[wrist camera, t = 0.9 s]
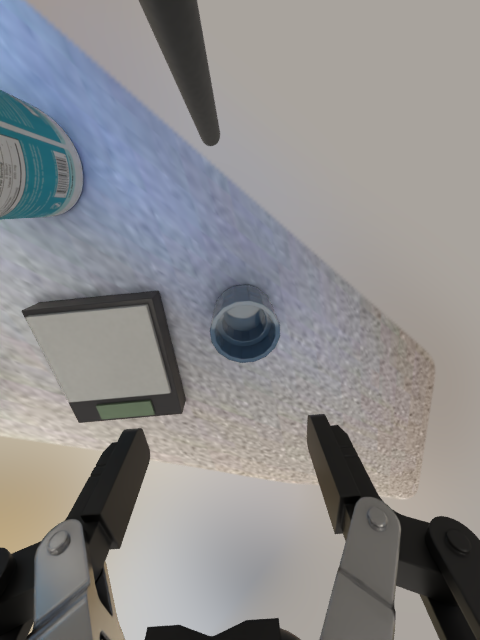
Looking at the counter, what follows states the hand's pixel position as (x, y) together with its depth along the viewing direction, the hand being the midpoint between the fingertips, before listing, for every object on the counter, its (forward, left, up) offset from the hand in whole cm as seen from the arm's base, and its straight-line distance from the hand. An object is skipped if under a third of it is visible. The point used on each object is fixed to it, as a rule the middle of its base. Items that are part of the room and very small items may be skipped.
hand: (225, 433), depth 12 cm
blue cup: (0, +1, -14) cm, 14 cm away
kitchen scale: (+4, -13, -14) cm, 19 cm away
